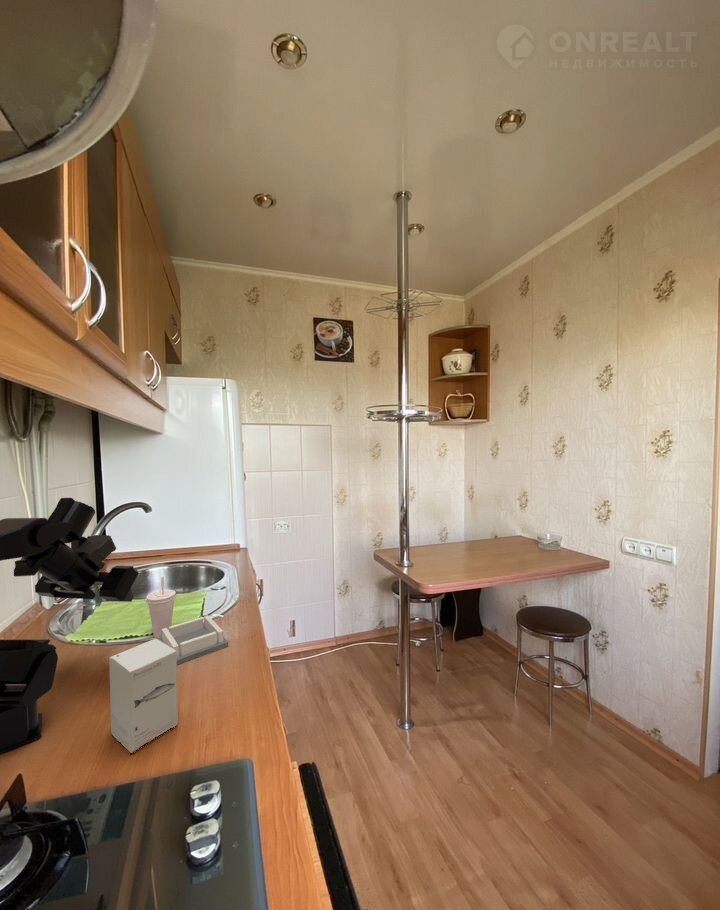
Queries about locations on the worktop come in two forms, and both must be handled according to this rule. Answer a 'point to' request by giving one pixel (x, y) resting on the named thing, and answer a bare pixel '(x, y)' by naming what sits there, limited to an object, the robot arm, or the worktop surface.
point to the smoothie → (161, 609)
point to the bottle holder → (194, 638)
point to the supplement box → (143, 693)
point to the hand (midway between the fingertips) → (112, 598)
